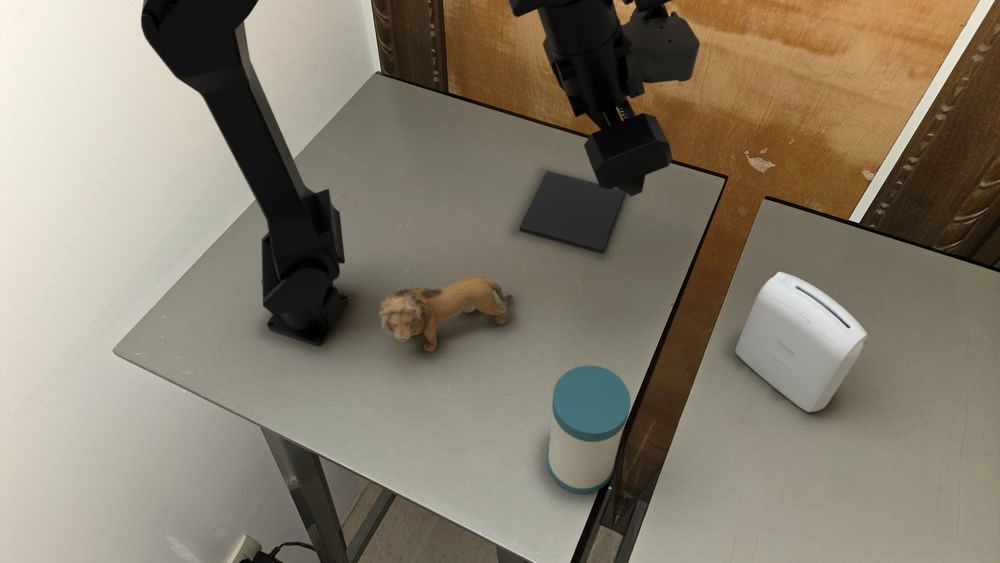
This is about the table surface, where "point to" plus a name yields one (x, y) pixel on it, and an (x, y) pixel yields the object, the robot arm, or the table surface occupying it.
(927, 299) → the table surface
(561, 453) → the cylinder
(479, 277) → the lion figurine
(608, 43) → the robot arm
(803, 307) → the photo printer
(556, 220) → the mat
